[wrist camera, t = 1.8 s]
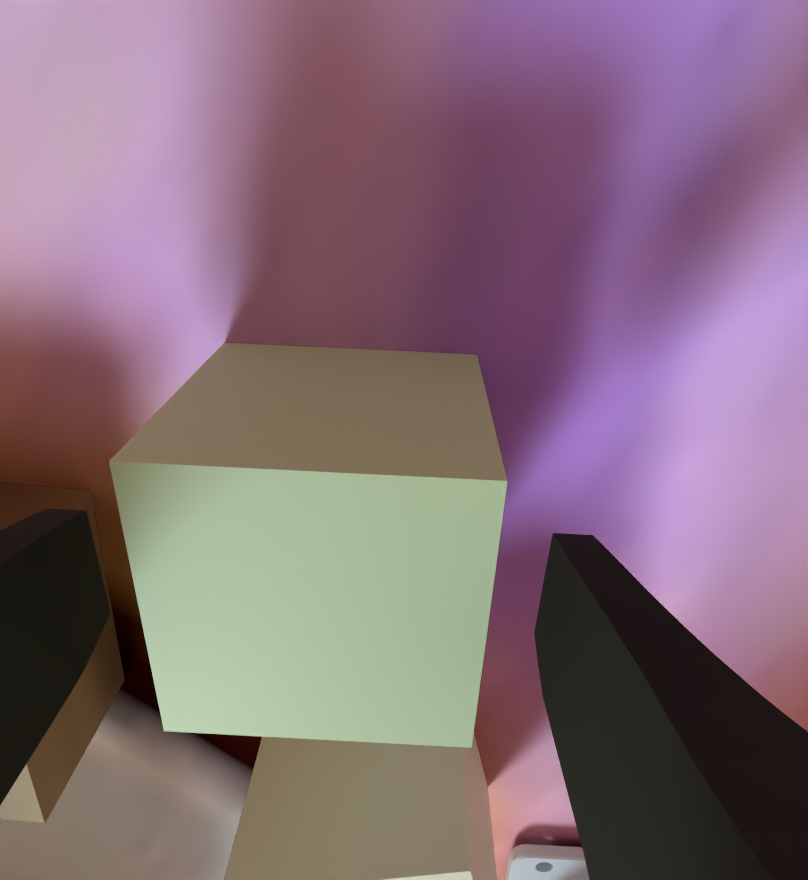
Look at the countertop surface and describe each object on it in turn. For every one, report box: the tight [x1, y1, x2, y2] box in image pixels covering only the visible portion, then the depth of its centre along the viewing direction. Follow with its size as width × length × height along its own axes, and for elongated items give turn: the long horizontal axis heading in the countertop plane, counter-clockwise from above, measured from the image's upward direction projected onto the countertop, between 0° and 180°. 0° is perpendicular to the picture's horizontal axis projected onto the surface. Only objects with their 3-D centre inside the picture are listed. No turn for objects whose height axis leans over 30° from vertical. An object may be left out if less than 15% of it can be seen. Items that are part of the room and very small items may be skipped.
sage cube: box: [109, 343, 508, 748], centre depth 11 cm, size 5×5×5 cm
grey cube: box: [224, 734, 497, 880], centre depth 15 cm, size 5×5×5 cm
